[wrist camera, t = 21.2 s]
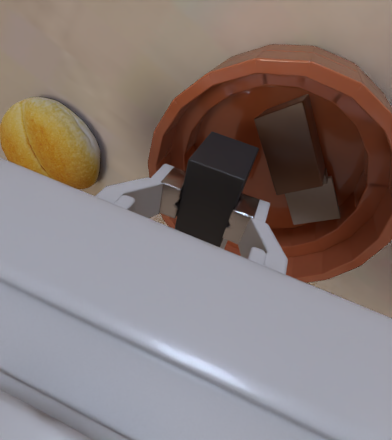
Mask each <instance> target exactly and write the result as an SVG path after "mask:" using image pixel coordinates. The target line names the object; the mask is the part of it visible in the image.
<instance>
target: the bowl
mask: <svg viewBox="0 0 392 440" xmlns="http://www.w3.org/2000/svg"><path fill="white" fill-rule="evenodd" d="M306 94H309V97H310V101H311V106H312V110H313V115H314V119H315V124H316V128H317V132H318V137H319V141H320V146H321V150H322V155H323V159H324V163H325V168H327V173H328V176H332V179H333V183H334V188H335V192H336V197H337V201H338V206H339V210H340V215H341V218H340V219H332V220H325V221H318V222H311V223H304V224H296V225H294V224H293V221H292V218H291V214H290V211H289V207H288V204H287V200H286V197H285V194H281V195H276V191H275V188H274V185H273V181H272V178H271V175H270V171H269V168H268V165H267V161H266V158H265V155H264V151H263V148H262V145H261V141H260V138H259V135H258V131H257V128H256V125H255V121H254V119H255V118H256V117H257V116H258V115H260V114H261V113H262V112H264V111H265V110H266V109H269V108H271V107H274V106H277V105H279V104H282V103H285V102H287V101H290V100H293V99H295V98H298V97H301V96H303V95H306ZM211 132H215V133H218V134H221V135H224V136H227V137H229V138H232V139H235V140H238V141H241V142H244V143H246V144H249V145H252V146H255V147H258V148H259V151H258V153H257V156H256V158H255V161H254V163H253V166H252V169H251V171H250V174H249V176H248V179H247V181H246V184H245V187H244V189H243V192H242V193H243V194H246V195H249V196H252V197H254V198H257V199H261V200H263V201H266V202H269V203H270V207H269V211H268V215H267V218H266V222H265V223H267V224H268V225H269V227H270V228H271V230H272V232H273V234H274V236H275V237H276V239H277V241H278V243H279V244H280V246H281V248H282V250H283V252H284V253H285V255H286V257H287V259H288V263H287V270H286V275H288V276H290V277H293V278H295V279H298V280H300V281H303V282H305V283H308V282H314V281H321V280H327V279H330V278H333V277H335V276H337V275H340V274H342V273H345V272H347V271H350V270H352V269H354V268H357V267H359V266H361V265H362V264H363V263H365V262H366V261H367V260H368V259H370V258H371V257H372V256H373V255H375V254H376V253H377V252H378V251H380V250H381V249H382V248H383V247H385V246H386V245H387V244H388V243H389V242H390V241H391V239H392V107H391V105H390V104H389V102H388V100H387V98H386V96H385V95H384V93H383V92H382V91H381V90H380V89H379V88H378V87H377V86H376V85H375V84H374V83H373V81H372V80H371V79H370V78H369V77H368V76H367V75H366V74H365V73H364V72H363V71H362V70H361V69H360V68H359V67H358V66H357V65H355V63H353V62H351V61H348V60H346V59H344V58H342V57H339V56H337V55H335V54H332V53H330V52H328V51H326V50H323V49H321V48H319V47H314V46H305V45H279V44H272V45H267V46H263V47H260V48H257V49H254V50H251V51H248V52H245V53H242V54H239V55H235V56H232V57H230V58H229V59H227V60H226V61H224V62H223V63H221V64H220V65H218V66H217V67H215V68H214V69H213V70H211V71H210V72H208V73H207V74H205V75H204V76H203V77H201V78H200V79H199V80H197V81H196V82H195V83H194V84H192V85H191V86H190V87H188V88H187V89H186V90H184V91H183V92H182V93H181V94H179V95H178V96H177V97H175V98H174V100H173V101H172V102H171V104H170V106H169V107H168V109H167V110H166V112H165V114H164V115H163V117H162V119H161V120H160V122H159V123H158V125H157V127H156V128H155V131H154V134H153V139H152V144H151V149H150V154H149V159H148V169H149V177H150V178H151V177H152V176H153V175H154V174H155V173H156V172H157V171H158V170H159V169H160V168H161V167H162V166H163V165H164V164H168V165H171V166H174V167H176V168H179V169H181V170H184V171H186V169H187V164H188V160H189V158H190V157H191V156H192V155H193V153H194V152H195V151H196V150H197V149H198V147H199V146H200V145H201V144H202V142H203V141H204V140H205V139H206V138H207V136H208V135H209V134H210V133H211ZM161 215H162V218H163V220H164V221H165V222H166V224H167V225H168V226H169V227H171V228H173V229H175V224H176V219H177V216H176V218H172V217H169V216H166V215H164V214H161ZM224 249H225V250H227V251H229V252H232V253H234V254H237V255H239V256H241V253H240V250H239V247H238V244H235V243H233V242H231V241H227V243H226V246H225V248H224Z"/></svg>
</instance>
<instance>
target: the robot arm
mask: <svg viewBox="0 0 392 440" xmlns="http://www.w3.org/2000/svg"><path fill="white" fill-rule="evenodd" d="M185 174H186V171H184V170H181V169H179V168H176V167H174V166H171V165H168V164H164V165H163V166H162V167H161V168H160V169H159V170H158V171H157V172H156V173H155V174H154V175H153V176H152V177H151V178H148V177H147V178H142V179H138V180H133V181H129V182H124V183H119V184H115V185H110V186H106V187H105V188H104V189H103V190H102V191H100V192H99V193H98V194H97V195H96V196H93V195H91V194H88V193H86V192H83V191H81V190H78V189H76V188H73V187H71V186H69V185H66V184H64V183H61V182H59V181H56V180H54V179H52V178H49V177H47V176H44V175H42V174H39V173H37V172H34V171H32V170H30V169H27V168H25V167H22V166H20V165H17V164H15V163H13V162H10V161H8V160H5V159H3V158H0V440H392V318H390V317H388V316H385V315H383V314H380V313H378V312H375V311H373V310H371V309H368V308H366V307H363V306H361V305H358V304H356V303H354V302H351V301H349V300H346V299H344V298H341V297H339V296H337V295H334V294H332V293H329V292H327V291H324V290H322V289H320V288H317V287H315V286H312V285H310V284H307V283H305V282H303V281H300V280H298V279H295V278H293V277H290V276H288V275H286V270H287V263H288V259H287V257H286V255H285V253H284V252H283V250H282V248H281V246H280V244H279V243H278V241H277V239H276V237H275V236H274V234H273V232H272V230H271V228H270V227H269V225H268V224H267V223H265V222H266V218H267V215H268V211H269V207H270V203H269V202H266V201H263V200H261V199H257V198H254V197H252V196H249V195H246V194H243V193H241V195H240V197H239V200H238V202H237V204H236V205H235V206H234V208H233V211H232V213H231V216H230V218H229V223H228V224H227V226H226V229H225V232H224V234H223V237H222V238H224V239H226V240H228V241H231V242H233V243H235V244H238V247H239V250H240V253H241V256H239V255H237V254H234V253H232V252H229V251H227V250H225V249H222V248H220V247H217V246H215V245H212V244H210V243H207V242H205V241H203V240H200V239H198V238H195V237H193V236H190V235H188V234H186V233H183V232H181V231H178V230H176V229H173V228H171V227H168V226H166V225H164V224H161V223H159V222H156V221H154V220H151V219H149V218H150V217H153V216H155V215H157V214H159V213H161V214H164V215H166V216H169V217H172V218H176V216H177V215H178V212H179V207H180V199H181V197H182V192H183V186H184V185H183V184H184V179H185Z"/></svg>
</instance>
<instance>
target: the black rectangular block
mask: <svg viewBox="0 0 392 440" xmlns="http://www.w3.org/2000/svg"><path fill="white" fill-rule="evenodd" d="M258 151H259V148H258V147H255V146H252V145H249V144H246V143H244V142H241V141H238V140H235V139H232V138H229V137H227V136H224V135H221V134H218V133H215V132H211V133H210V134H209V135H208V136H207V138H206V139H205V140H204V141H203V142H202V144H201V145H200V146H199V147H198V149H197V150H196V151H195V152H194V153H193V155H192V156H191V157H190V158H189V160H188V164H187V169H186V174H185V179H184V184H183V185H184V186H183V192H182V197H181V199H180V207H179V212H178V215H177V219H176V224H175V229H176V230H178V231H181V232H183V233H186V234H188V235H190V236H193V237H195V238H198V239H200V240H203V241H205V242H207V243H210V244H212V245H215V246H217V247H220V248H222V249H224V248H225V246H226V243H227V241H228V240H226V239H224V238H222V237H223V234H224V232H225V229H226V226H227V224H228V223H229V218H230V216H231V213H232V211H233V208H234V206H235V205H236V204H237V202H238V200H239V197H240V195H241V193H242V192H243V189H244V187H245V184H246V181H247V179H248V176H249V174H250V171H251V169H252V166H253V163H254V161H255V158H256V156H257V153H258Z"/></svg>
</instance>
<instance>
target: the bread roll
mask: <svg viewBox="0 0 392 440" xmlns="http://www.w3.org/2000/svg"><path fill="white" fill-rule="evenodd" d="M0 139H1V146H2V149H3V151H4V153H5V155H6V157H7V159H8V161H10V162H13V163H15V164H17V165H20V166H22V167H25V168H27V169H30V170H32V171H34V172H37V173H39V174H42V175H44V176H47V177H49V178H52V179H54V180H56V181H59V182H61V183H64V184H66V185H69V186H71V187H73V188H76V189H84V188H88V187H90V186H92V185H93V184H94V183H95V182H96V180H97V178H98V174H99V168H100V149H99V146H98V144H97V141H96V139H95V137H94V136H93V134H92V133H91V131H90V130H89V128H88V127H87V125H86V124H85V123H84V122H83V121H82V120H81V119H80V118H79V117H78V116H77V115H75V114H74V113H73V112H72V111H71V110H69V109H68V108H67V107H65V106H64V105H63V104H61V103H59V102H57V101H55V100H52V99H47V98H42V97H41V98H40V97H31V98H27V99H25V100H23V101H20V102H18V103H16V104H14V105H13V106H11V107H10V108H9V109H8V111H7V112H6V113H5V115H4V117H3V118H2V122H1V125H0Z"/></svg>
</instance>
